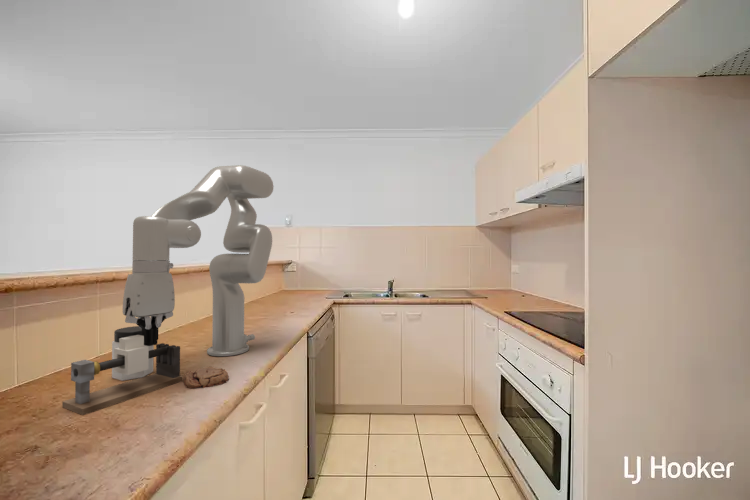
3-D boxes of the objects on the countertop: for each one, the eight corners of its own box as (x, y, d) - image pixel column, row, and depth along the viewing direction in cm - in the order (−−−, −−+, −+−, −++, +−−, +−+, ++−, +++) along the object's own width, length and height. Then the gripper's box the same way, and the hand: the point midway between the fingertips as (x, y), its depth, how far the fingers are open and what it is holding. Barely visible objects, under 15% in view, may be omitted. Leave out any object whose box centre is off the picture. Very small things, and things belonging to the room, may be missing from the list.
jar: (110, 383, 86) (111, 334, 87) (112, 373, 93) (113, 328, 93) (153, 376, 91) (154, 329, 92) (153, 367, 98) (153, 324, 98)
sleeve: (135, 365, 84) (135, 333, 84) (148, 369, 82) (148, 336, 82) (114, 371, 80) (114, 337, 80) (127, 375, 78) (127, 340, 78)
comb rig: (162, 375, 92) (162, 339, 92) (182, 380, 88) (182, 343, 88) (62, 407, 73) (62, 361, 73) (82, 415, 69) (83, 367, 69)
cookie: (222, 388, 84) (222, 375, 84) (175, 390, 83) (175, 377, 83) (234, 374, 94) (234, 363, 94) (191, 376, 92) (191, 364, 93)
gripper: (170, 267, 94) (169, 336, 93) (107, 268, 80) (106, 350, 80) (189, 267, 90) (188, 339, 90) (127, 269, 77) (125, 354, 76)
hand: (149, 344), depth 85 cm, fingers closed
